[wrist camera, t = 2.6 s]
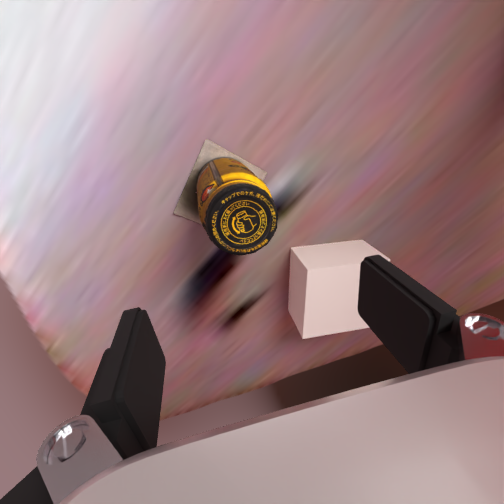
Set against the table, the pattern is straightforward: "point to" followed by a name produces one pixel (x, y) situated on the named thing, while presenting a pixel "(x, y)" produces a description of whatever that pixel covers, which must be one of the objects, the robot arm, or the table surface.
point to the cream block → (327, 287)
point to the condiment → (229, 201)
